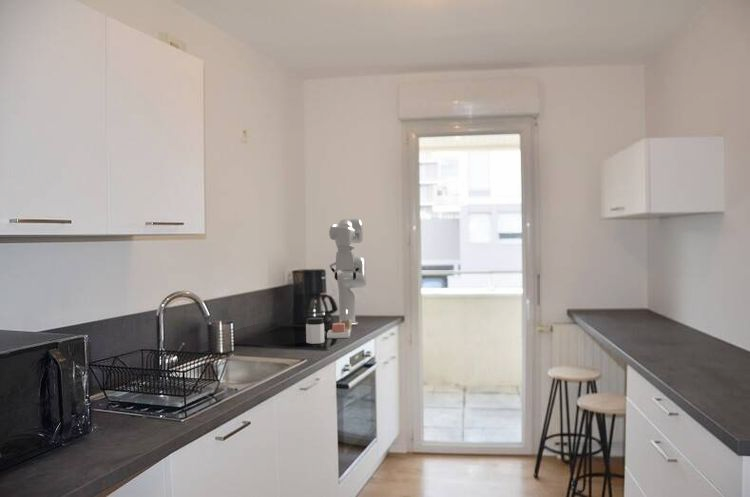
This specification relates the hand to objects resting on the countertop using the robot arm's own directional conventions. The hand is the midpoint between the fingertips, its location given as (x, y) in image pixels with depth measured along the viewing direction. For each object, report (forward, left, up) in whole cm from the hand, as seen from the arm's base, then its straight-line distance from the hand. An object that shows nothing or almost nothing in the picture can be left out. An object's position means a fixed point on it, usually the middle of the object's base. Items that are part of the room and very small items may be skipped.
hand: (345, 280), depth 331 cm
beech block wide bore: (-2, -1, -29) cm, 29 cm away
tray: (+17, -3, -29) cm, 33 cm away
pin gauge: (-2, -1, -29) cm, 29 cm away
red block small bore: (+16, -3, -28) cm, 33 cm away
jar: (+35, -13, -29) cm, 47 cm away
